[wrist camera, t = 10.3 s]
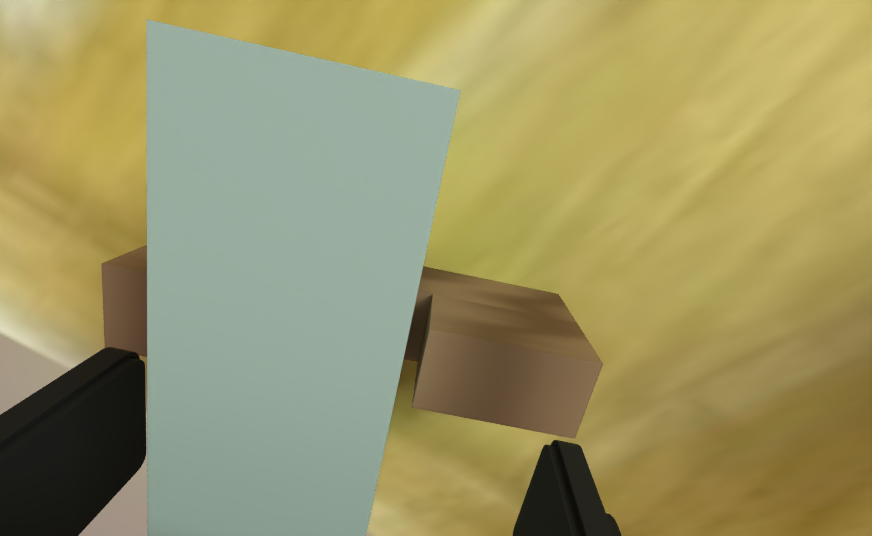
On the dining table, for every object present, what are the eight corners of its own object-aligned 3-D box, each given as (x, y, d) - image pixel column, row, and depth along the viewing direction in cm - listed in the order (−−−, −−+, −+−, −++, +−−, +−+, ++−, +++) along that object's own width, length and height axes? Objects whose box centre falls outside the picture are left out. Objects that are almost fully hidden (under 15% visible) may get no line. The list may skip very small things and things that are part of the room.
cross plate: (377, 98, 17) (146, 19, 4) (451, 114, 17) (459, 89, 4) (326, 425, 22) (148, 868, 9) (383, 436, 23) (290, 890, 9)
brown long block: (558, 294, 20) (603, 363, 14) (540, 351, 21) (574, 438, 15) (204, 221, 19) (101, 263, 13) (202, 284, 20) (104, 348, 14)
